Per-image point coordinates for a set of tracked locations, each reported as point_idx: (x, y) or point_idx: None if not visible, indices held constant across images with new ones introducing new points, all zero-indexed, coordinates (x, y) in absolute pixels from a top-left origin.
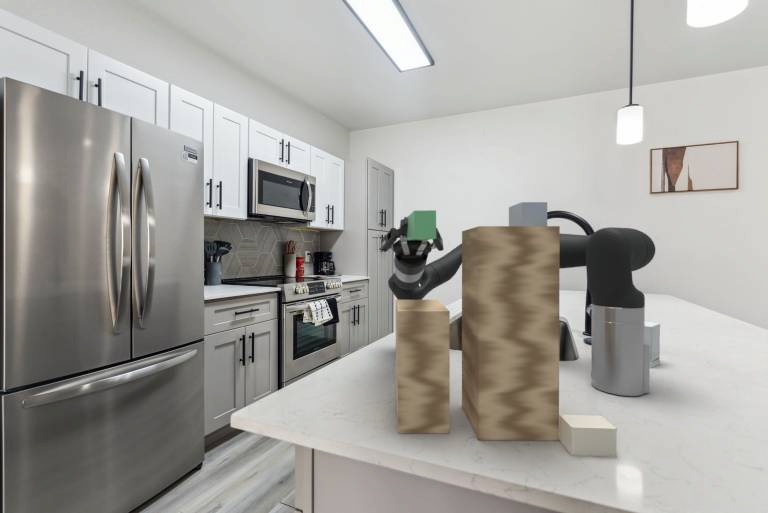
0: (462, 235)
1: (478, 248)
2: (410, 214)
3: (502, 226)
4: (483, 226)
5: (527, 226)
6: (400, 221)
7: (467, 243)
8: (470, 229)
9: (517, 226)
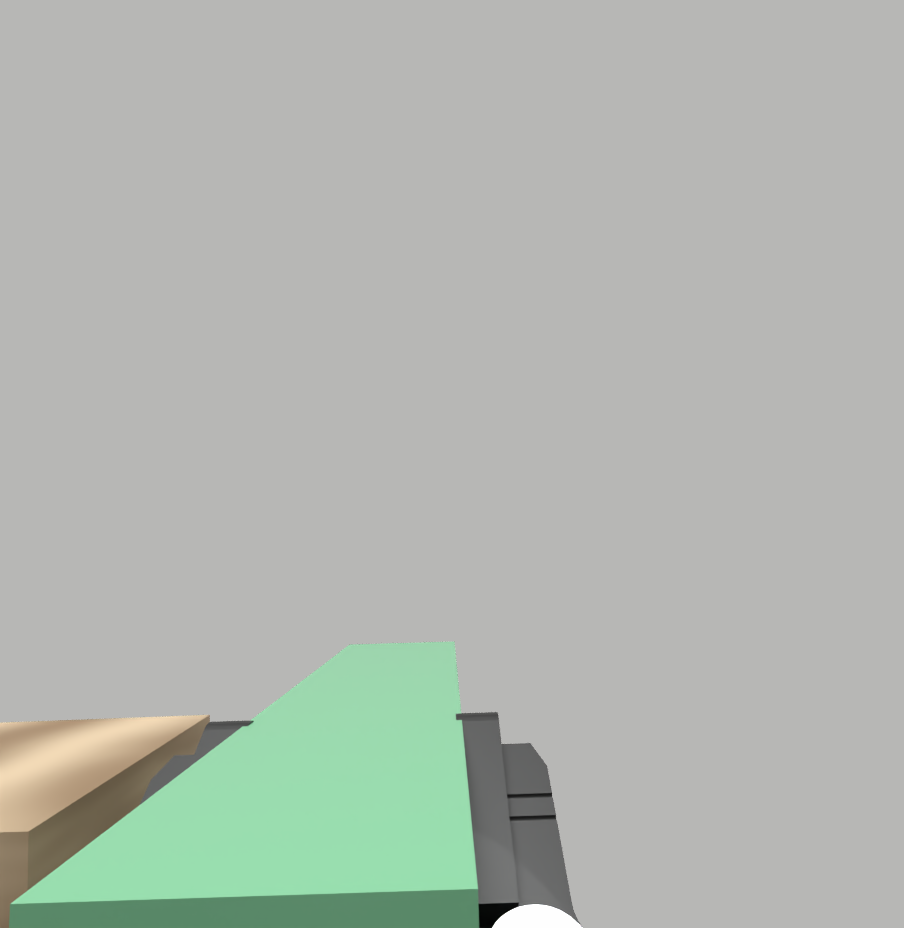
0: (37, 861)
1: None
2: (456, 667)
3: (116, 719)
4: (191, 716)
5: (20, 722)
6: (548, 778)
7: None
8: (152, 755)
9: (59, 721)
